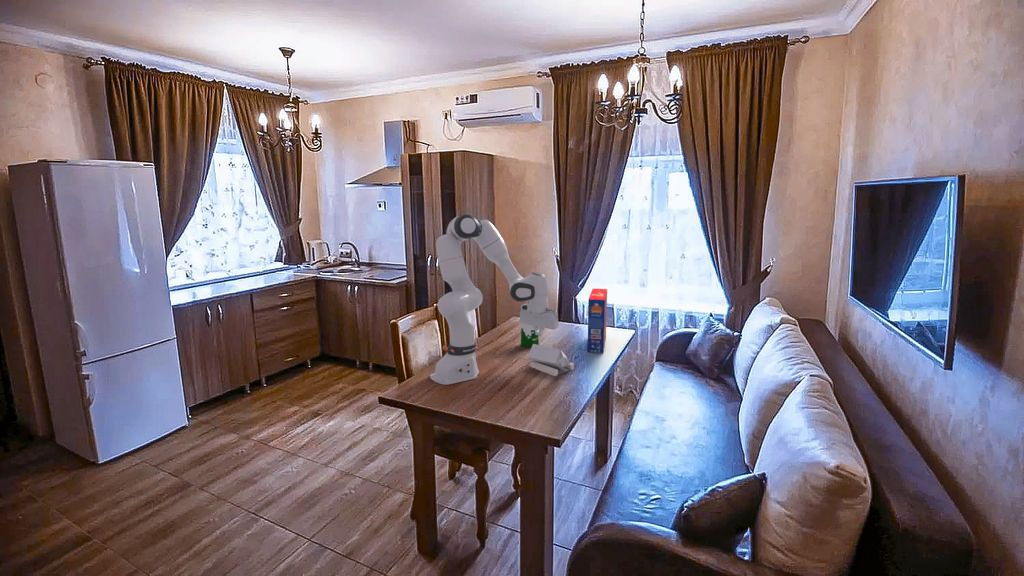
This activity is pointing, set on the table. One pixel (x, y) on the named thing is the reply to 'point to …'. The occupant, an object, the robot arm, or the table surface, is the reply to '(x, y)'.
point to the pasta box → (597, 320)
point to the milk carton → (548, 356)
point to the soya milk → (528, 336)
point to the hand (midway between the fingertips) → (538, 335)
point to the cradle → (551, 368)
